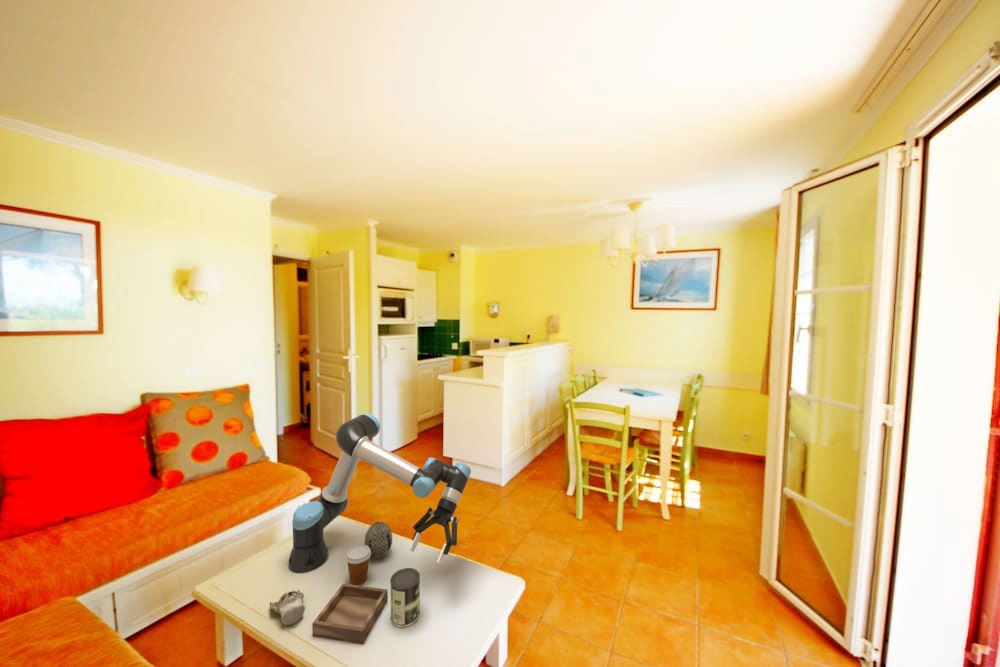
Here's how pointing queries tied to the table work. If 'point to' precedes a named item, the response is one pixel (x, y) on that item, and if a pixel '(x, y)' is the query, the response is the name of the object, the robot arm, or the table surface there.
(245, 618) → the table surface
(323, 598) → the table surface
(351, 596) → the box
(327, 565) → the table surface
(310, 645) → the table surface
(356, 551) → the disposable coffee cup
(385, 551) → the decorative egg
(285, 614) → the ceramic sculpture
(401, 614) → the coffee can
